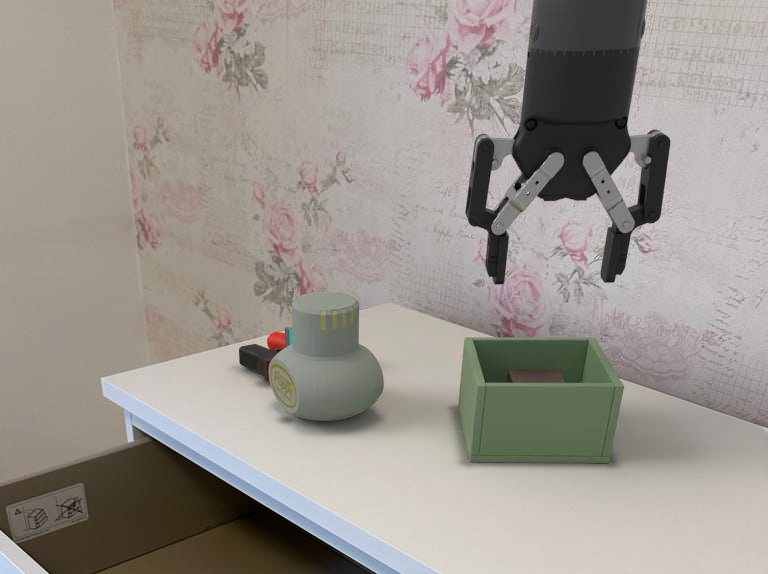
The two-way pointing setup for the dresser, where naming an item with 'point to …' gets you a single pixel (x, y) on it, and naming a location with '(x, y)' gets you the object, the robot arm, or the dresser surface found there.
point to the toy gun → (264, 352)
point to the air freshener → (325, 361)
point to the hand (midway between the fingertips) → (551, 281)
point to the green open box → (538, 401)
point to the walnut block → (534, 376)
